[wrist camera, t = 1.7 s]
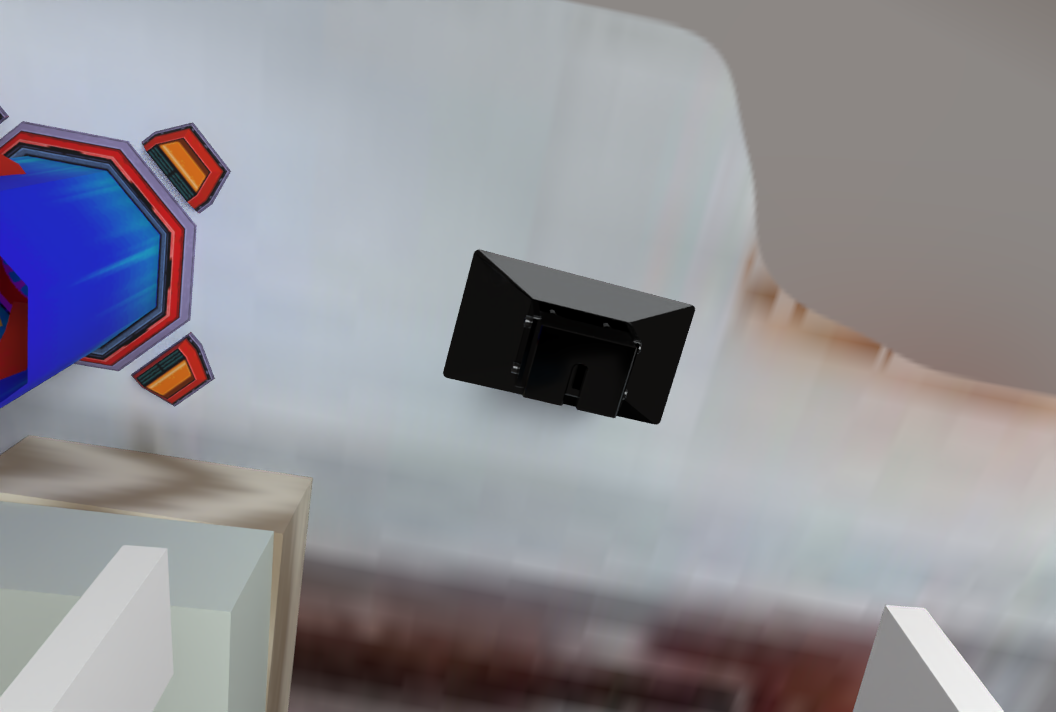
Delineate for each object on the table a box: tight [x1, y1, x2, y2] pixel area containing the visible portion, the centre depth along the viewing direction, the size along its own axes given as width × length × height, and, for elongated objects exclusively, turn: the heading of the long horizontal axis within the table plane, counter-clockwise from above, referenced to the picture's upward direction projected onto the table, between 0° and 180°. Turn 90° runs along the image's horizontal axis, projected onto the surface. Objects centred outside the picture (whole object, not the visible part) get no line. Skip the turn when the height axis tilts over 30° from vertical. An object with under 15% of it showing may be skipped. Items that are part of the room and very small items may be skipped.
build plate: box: [443, 250, 695, 424], centre depth 32 cm, size 12×7×5 cm, turn 75°
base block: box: [0, 435, 313, 712], centre depth 35 cm, size 12×15×5 cm
